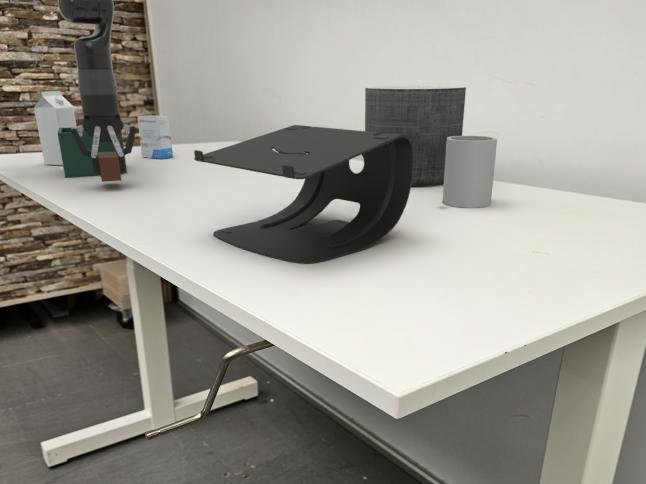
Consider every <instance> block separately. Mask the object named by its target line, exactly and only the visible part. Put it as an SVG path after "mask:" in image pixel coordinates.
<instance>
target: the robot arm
mask: <svg viewBox="0 0 646 484" xmlns="http://www.w3.org/2000/svg"><path fill="white" fill-rule="evenodd" d="M57 5H58V10H59V13H60V16H61V17H62V18H63V19H64V20H65V21H66V22H69V23H71V24H73V25H94V31H93V33H92V34H91V35H88V36H83V37H78V38H77V39H75V40H74V43H73V47H74V54H75V63H76V68H77V83H78V92H79V96H80V103H81V111H82V116H83V121H82V123H81V125H78V126H77V127H76V128H74V127H73V128H72V129H71V133H72V135H73V137H74V139H75V141H76V143H77V145H78V147H79V148H80V150H81V152H82V154H83V155H84V156H89V157H91V158H92V163H93V169H94V172H95V173H97V174H98V176H99V177H101V172H100V165H99V159H98V157H97V152H98V146H99V142H104V141H107V142H113V144H114V147H115V149H116V151H117V154H118V159H119V166H120V174H121V175H124V174H123V171H125V162H124V156H125V157H126V156H127V155H129V154H131V153H132V152H133V146H134V142H135V138H136V133H137V128H136V126H135V125H130V124H127V123H124V121H123V120H122V117H121V112H120V104H119V103H120V102H119V96H118V87H117V81H116V77H115V73H114V69H113V59H112V52H111V51H112V50H111V39H112V28H113V21H114V15H115V4H114V0H57ZM123 129H124V134H126V136H127V139H126V143H125V147H124V149H121V146H120V144H119V141H118V139H117V138H118V136H119V134H120V132H122V131H123ZM83 130H85V131H86V132H87V133H88V134H89V135H90V136H91V137H92V139H93V141H92V149H91V150H87V149H86V147H85V145H84V143H83V141H82V139H81V137H82V136H83V133H82V131H83Z"/></svg>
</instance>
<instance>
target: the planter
mask: <svg viewBox="0 0 646 484" xmlns="http://www.w3.org/2000/svg"><path fill="white" fill-rule="evenodd" d="M364 90H365V91H364V93H365V95H364V131H367V132H378V133H382V134H384V133H388V134H399V135H406V136H407V137H408V138H409V139H410V140H411V142H412V146H413V176H412V184H411V187H433V186H434V187H435V186H442V185H443V186H444V172H445V158H446V143H447V137H452V136H463V130H464V120H465V119H464V117H465V106H466V95H467V94H466V93H467V92H466V91H467V86H462V85H436V84H435V85H428V84H427V85H424V84H423V85H421V84H419V85H415V84H413V85H379V86H377V85H376V86H367V87H365V89H364Z"/></svg>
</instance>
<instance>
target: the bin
mask: <svg viewBox="0 0 646 484" xmlns="http://www.w3.org/2000/svg"><path fill="white" fill-rule="evenodd" d="M72 128H73V127H69V128H59V130H58V139H59V145H60V150H61V156H62V162H63V165H62V166H63V171H64V172H63V173H64V178H65V179H66V178H67V179H69V178H83V177H97V176H98V174H97V173H95V172H94V169H93V163H92V158H91V157H89V156H84V155H83V154H82V152H81V150H80V148H79V147H78V145H77V143H76V141H75V139H74V137H73V135H72V133H71V129H72ZM74 128H76V127H74ZM82 133H83V136H82V137H81V139H82V141H83V143H84V145H85V147H86V149H87V150H91V149H92V141H93V139H92V137H91V136H90V135H89V134H88V133H87V132H86V131H85V130H83V131H82ZM117 139H118V141H119V144H120V146H121V149H124V148H125V147H124V140H123V139H124V138H123V133H122V131H121V132H120V134H119V136H118V138H117ZM114 151H116V149H115V147H114V144H113V142H107V141H104V142H99V146H98V152H114ZM116 153H117V151H116ZM117 156H118V154H117ZM97 157H98V154H97ZM124 162H125V171H123V173H127V174H128V169H127V162H126V155H125V156H124Z"/></svg>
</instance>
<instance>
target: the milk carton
mask: <svg viewBox="0 0 646 484" xmlns="http://www.w3.org/2000/svg"><path fill="white" fill-rule="evenodd" d="M40 93H41V96H40V98H39V100H38V101H37V103H36V104H35V106H34V107H33V111H34V115H35V116H34V117H35V120H36V126H37V132H38V136H39V137H38V138H39V141H40V142H39V143H40V148H41V153H42V157H43V163H44V165H47V166H63V162H62V156H61V150H60V145H59V139H58V130H59V128H69V127H78V126H77V121H76V114H75V109H74V108H75V107H74V105H73V104H71V103H70V102H69V101H68V100H67V99H66V98H65V97H64V96H63V95H62V91H61V90H51V91H40Z"/></svg>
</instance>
